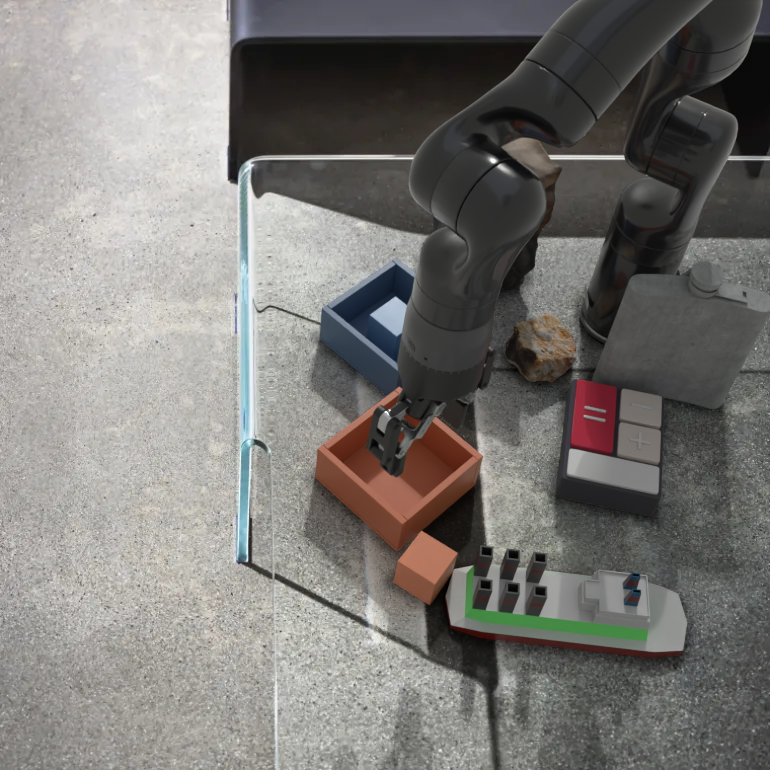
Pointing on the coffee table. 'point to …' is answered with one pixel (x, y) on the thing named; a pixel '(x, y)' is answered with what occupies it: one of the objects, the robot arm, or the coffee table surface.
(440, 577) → the terracotta block
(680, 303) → the hip flask
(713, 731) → the coffee table surface
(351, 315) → the blue bin
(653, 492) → the calculator
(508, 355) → the rock
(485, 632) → the toy boat
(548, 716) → the coffee table surface
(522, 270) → the tall brown boulder
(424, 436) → the terracotta bin
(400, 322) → the blue block
